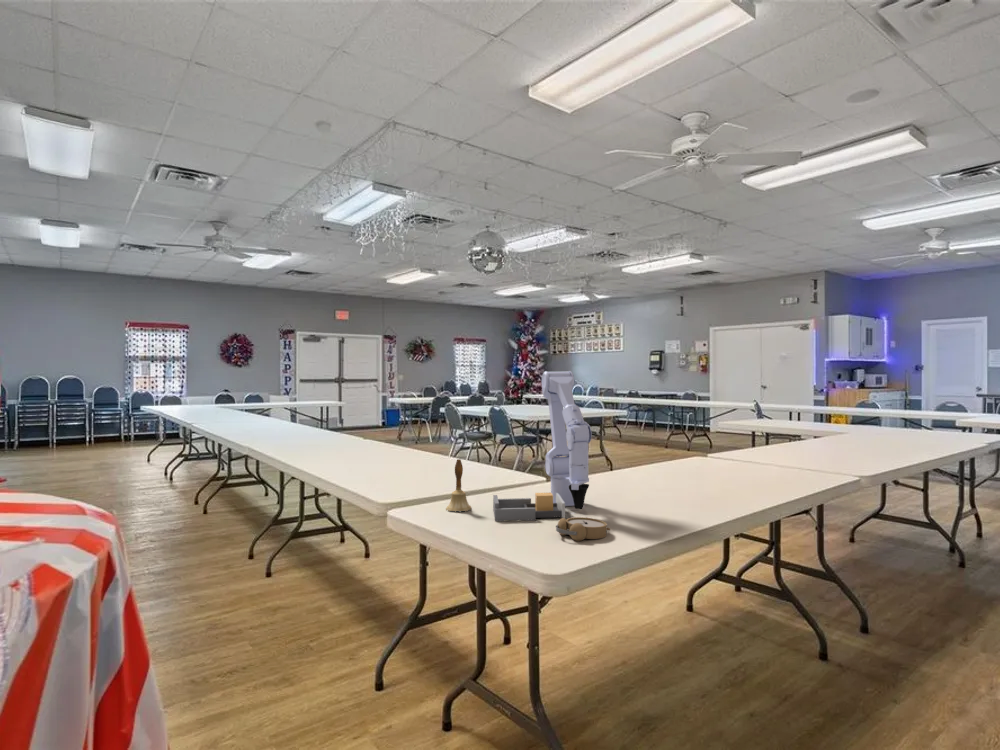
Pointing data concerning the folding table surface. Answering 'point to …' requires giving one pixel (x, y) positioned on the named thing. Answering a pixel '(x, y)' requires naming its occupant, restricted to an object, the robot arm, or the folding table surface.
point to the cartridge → (543, 501)
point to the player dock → (512, 509)
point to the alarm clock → (582, 528)
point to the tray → (556, 512)
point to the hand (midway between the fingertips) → (579, 508)
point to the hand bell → (458, 492)
